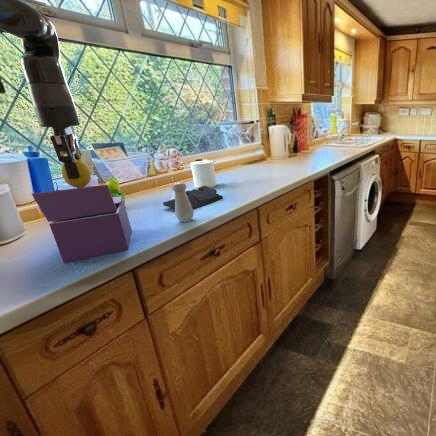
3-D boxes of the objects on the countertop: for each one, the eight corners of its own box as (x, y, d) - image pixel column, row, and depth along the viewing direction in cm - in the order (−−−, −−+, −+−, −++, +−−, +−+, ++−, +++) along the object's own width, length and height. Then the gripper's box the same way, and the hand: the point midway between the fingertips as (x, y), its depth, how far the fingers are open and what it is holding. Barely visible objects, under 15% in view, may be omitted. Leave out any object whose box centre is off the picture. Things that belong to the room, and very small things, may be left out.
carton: (128, 249, 82) (117, 210, 78) (63, 263, 76) (47, 220, 72) (131, 230, 96) (122, 196, 92) (77, 240, 90) (64, 203, 86)
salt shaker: (189, 216, 107) (181, 180, 103) (198, 219, 104) (191, 182, 100) (173, 221, 103) (165, 184, 98) (182, 224, 99) (174, 185, 95)
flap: (117, 210, 78) (117, 211, 78) (48, 220, 72) (48, 222, 72) (107, 184, 73) (107, 185, 73) (31, 193, 67) (31, 194, 66)
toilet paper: (190, 187, 150) (185, 163, 146) (208, 182, 158) (204, 159, 154) (203, 189, 145) (199, 164, 141) (221, 184, 153) (217, 160, 149)
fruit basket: (93, 208, 121) (84, 180, 117) (115, 202, 128) (108, 176, 125) (110, 211, 116) (101, 182, 112) (132, 205, 124) (125, 177, 120)
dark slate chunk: (157, 208, 117) (154, 197, 116) (199, 194, 136) (197, 184, 134) (186, 212, 111) (183, 200, 110) (226, 197, 130) (225, 186, 129)
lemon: (64, 190, 77) (53, 159, 74) (89, 186, 81) (80, 156, 78) (72, 193, 74) (61, 160, 71) (98, 188, 78) (89, 157, 75)
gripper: (42, 106, 75) (64, 173, 81) (22, 104, 63) (50, 183, 69) (80, 105, 78) (98, 170, 84) (67, 103, 66) (90, 179, 72)
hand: (77, 176), depth 76 cm, fingers closed on lemon, 5 cm apart
